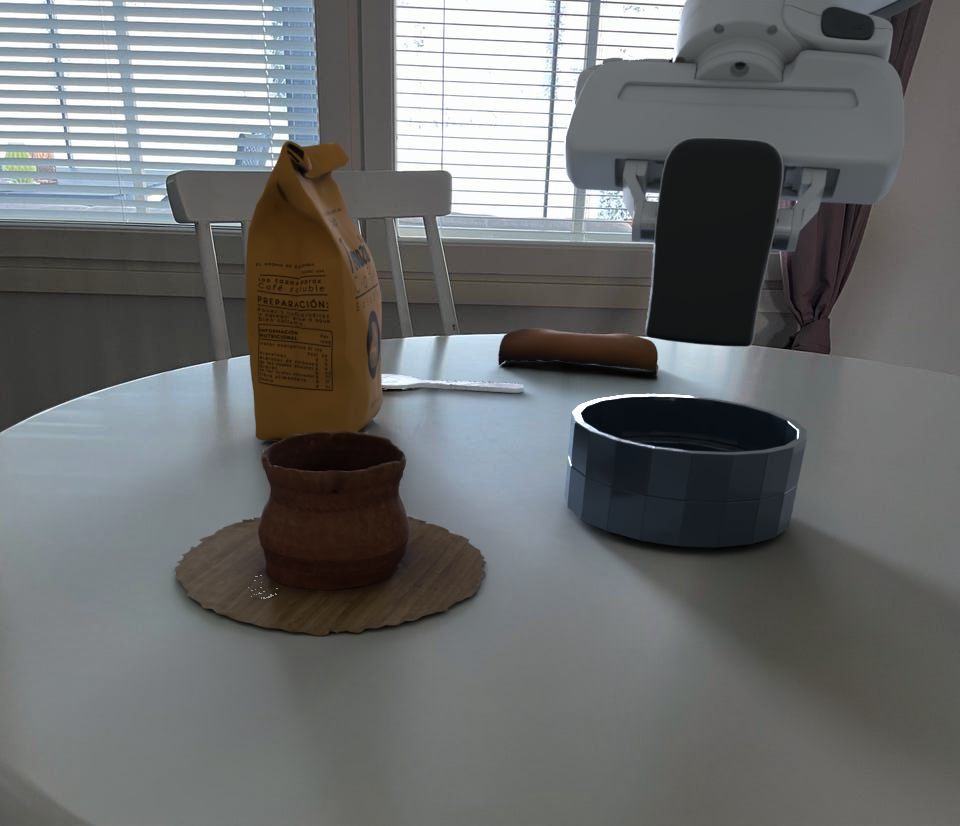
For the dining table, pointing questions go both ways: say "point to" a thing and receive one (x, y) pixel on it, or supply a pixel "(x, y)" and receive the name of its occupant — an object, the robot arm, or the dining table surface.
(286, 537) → the ceramic pot
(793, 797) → the dining table surface
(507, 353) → the sunglasses case
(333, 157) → the coffee package
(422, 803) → the dining table surface
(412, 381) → the spoon
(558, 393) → the dining table surface
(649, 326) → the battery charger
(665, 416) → the faceted round bowl
